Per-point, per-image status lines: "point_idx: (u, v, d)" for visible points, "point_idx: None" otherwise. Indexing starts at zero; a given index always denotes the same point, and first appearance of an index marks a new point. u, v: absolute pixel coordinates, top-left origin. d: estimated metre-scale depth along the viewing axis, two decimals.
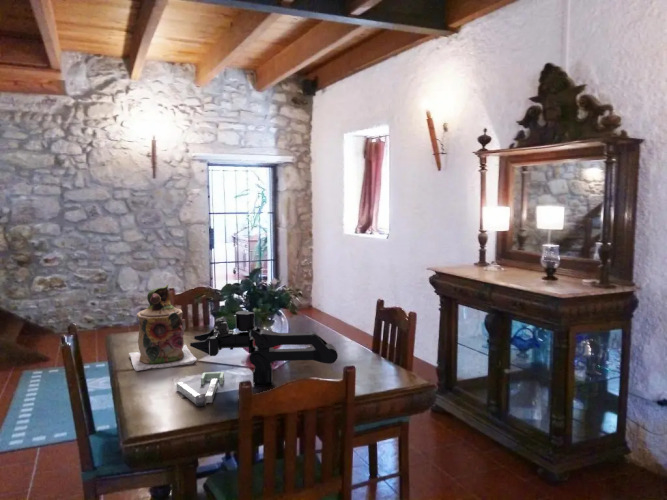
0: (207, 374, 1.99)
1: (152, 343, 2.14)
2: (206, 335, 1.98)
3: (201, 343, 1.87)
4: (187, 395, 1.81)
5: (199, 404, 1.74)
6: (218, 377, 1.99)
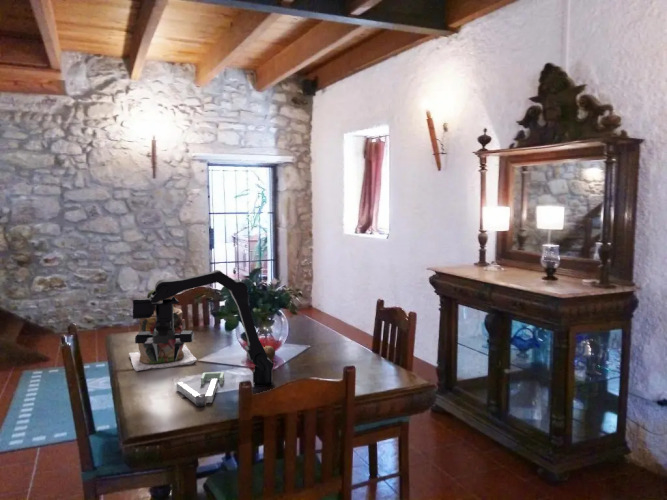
0: (207, 374, 1.99)
1: None
2: (155, 349, 1.82)
3: (178, 350, 1.83)
4: (187, 395, 1.81)
5: (199, 404, 1.74)
6: (218, 377, 1.99)
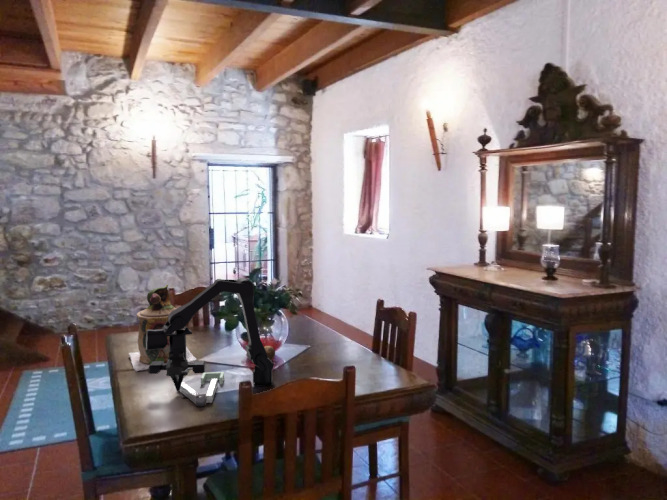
0: (207, 374, 1.99)
1: None
2: (176, 379, 1.84)
3: (181, 380, 1.84)
4: (187, 395, 1.81)
5: (199, 404, 1.74)
6: (218, 377, 1.99)
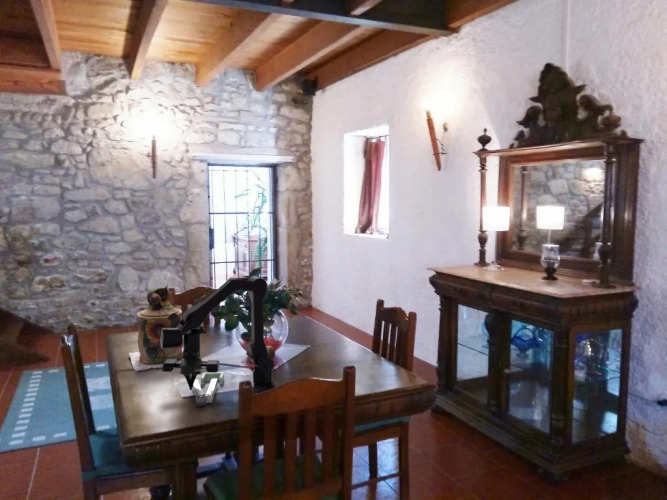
0: (207, 374, 1.99)
1: (152, 343, 2.14)
2: (190, 378, 1.84)
3: (194, 379, 1.84)
4: None
5: (198, 404, 1.74)
6: (218, 377, 1.99)
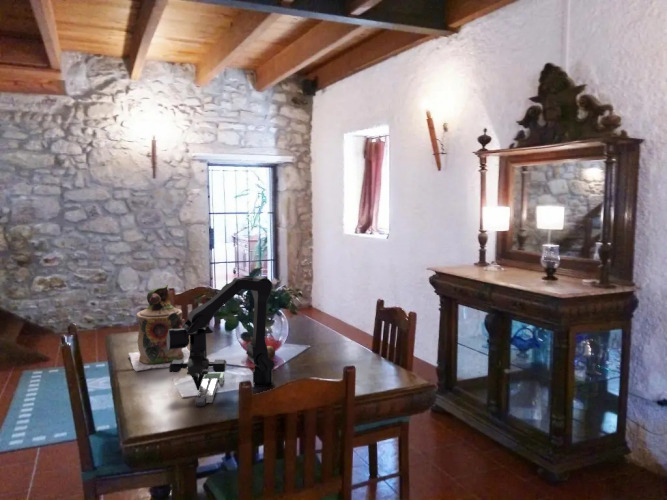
0: (207, 374, 1.99)
1: (152, 343, 2.14)
2: (197, 378, 1.84)
3: (202, 378, 1.85)
4: None
5: (197, 404, 1.74)
6: (218, 377, 1.99)
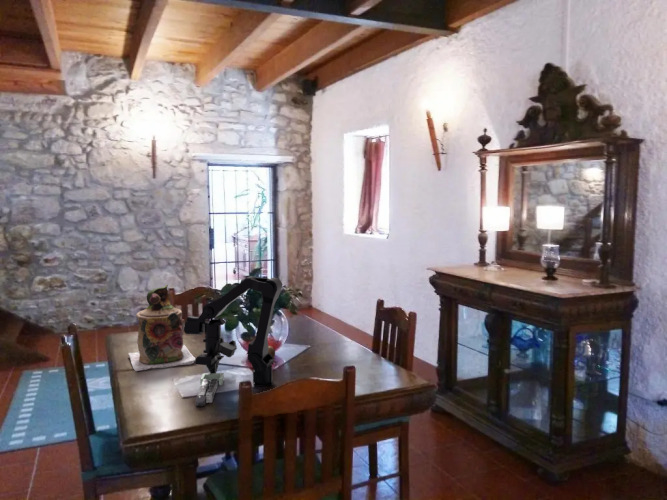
0: (207, 375, 1.98)
1: (151, 343, 2.14)
2: None
3: None
4: None
5: (197, 404, 1.74)
6: (218, 378, 1.98)
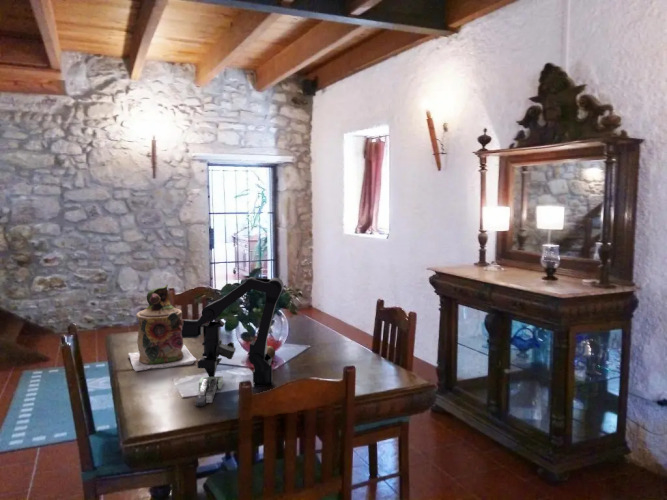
0: (205, 378, 1.94)
1: (151, 343, 2.14)
2: None
3: None
4: None
5: (197, 404, 1.74)
6: None
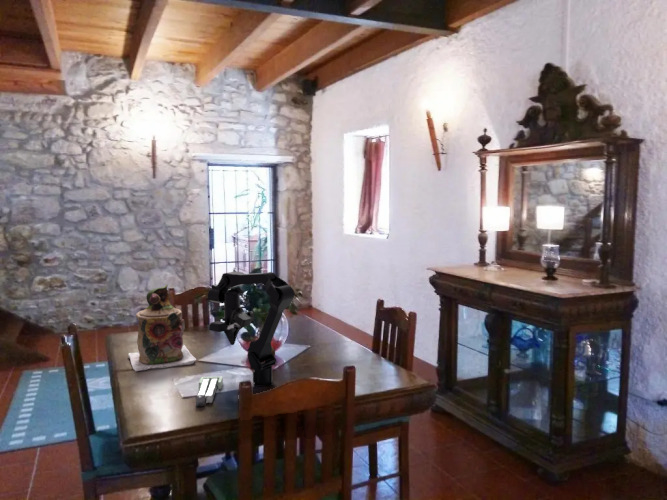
0: (205, 378, 1.94)
1: (151, 343, 2.14)
2: None
3: None
4: None
5: (197, 404, 1.74)
6: None
